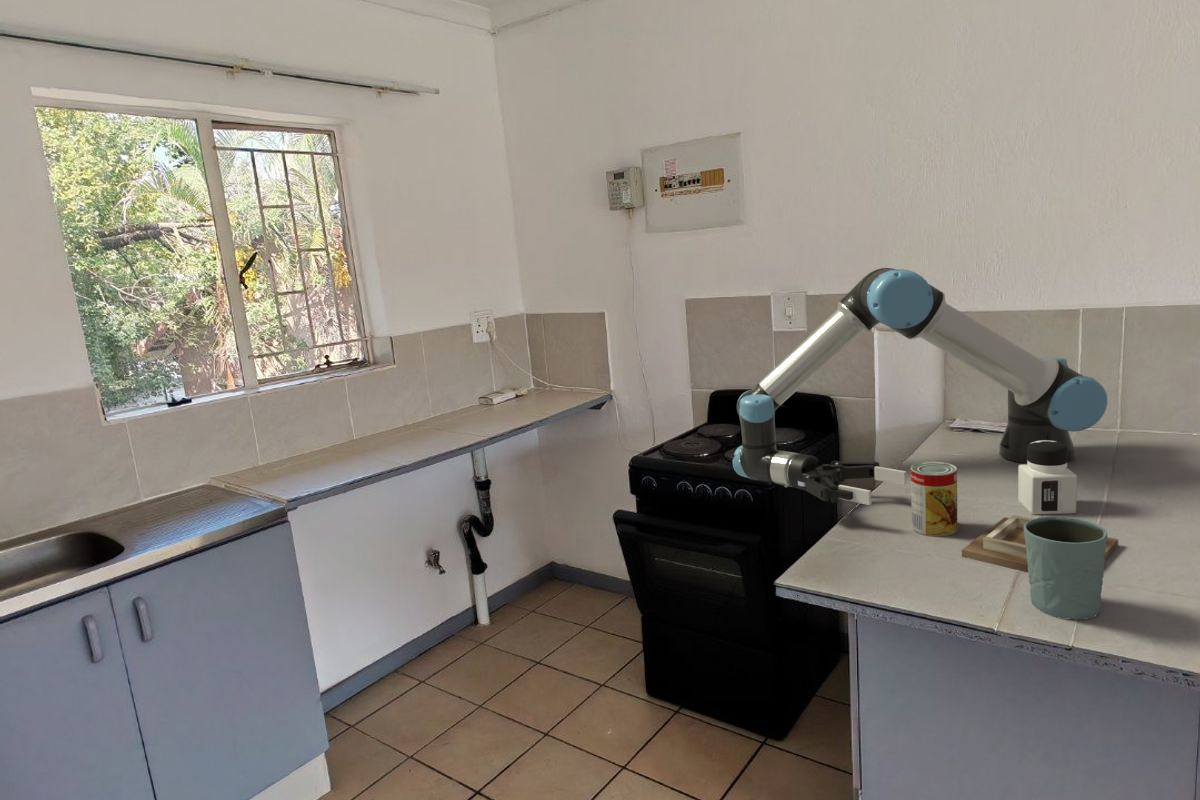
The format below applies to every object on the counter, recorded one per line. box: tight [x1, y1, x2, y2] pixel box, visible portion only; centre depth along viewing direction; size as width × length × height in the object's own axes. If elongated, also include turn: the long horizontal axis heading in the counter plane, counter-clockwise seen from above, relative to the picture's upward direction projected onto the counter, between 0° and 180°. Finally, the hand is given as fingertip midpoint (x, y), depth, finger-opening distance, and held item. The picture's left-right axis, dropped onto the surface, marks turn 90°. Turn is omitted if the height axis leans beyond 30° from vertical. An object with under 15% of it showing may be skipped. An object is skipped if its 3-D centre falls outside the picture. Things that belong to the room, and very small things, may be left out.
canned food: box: [910, 461, 958, 537], centre depth 138 cm, size 8×8×12 cm
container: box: [1017, 440, 1078, 515], centre depth 141 cm, size 8×8×13 cm
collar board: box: [961, 514, 1119, 573], centre depth 125 cm, size 18×18×3 cm
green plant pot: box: [1024, 516, 1108, 620], centre depth 107 cm, size 10×10×12 cm
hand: (888, 487), depth 144 cm, fingers open, 13 cm apart
